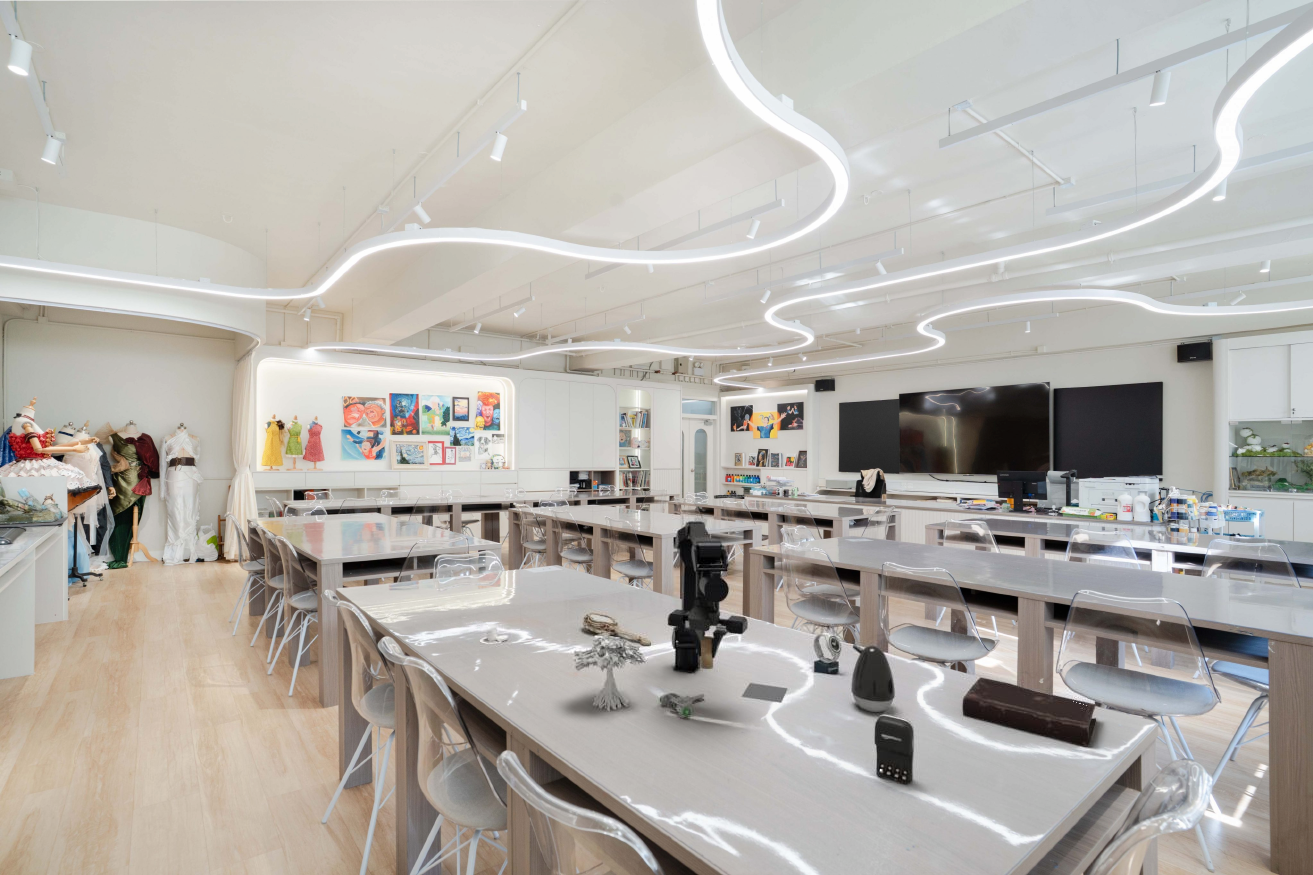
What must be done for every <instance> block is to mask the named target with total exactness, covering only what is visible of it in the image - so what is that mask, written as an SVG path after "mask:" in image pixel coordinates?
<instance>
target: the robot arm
mask: <svg viewBox="0 0 1313 875" xmlns="http://www.w3.org/2000/svg"><path fill="white" fill-rule="evenodd" d="M675 535H676V536H675V543H674V544H675V549H676V550H677V554H678V556H679V558H680V559H681V562H682V575H681V576H682V577H681V583H682V584H681V609H678V608H677V609H675V610H673V611H672V612H671V613H669V614H668V616H667V625H668V626H669V627H673V629H672V634H671V646H672V648H673V650H674V652H675V653H674V655H675V656H674V657H675V658H674V666H673V667H672V670H674V671H679V672H686V673H687V672H688V673H695V672H696V671H697V670H698V669H700V668H701V637H703V636H706V632H709V631H710V629H711V627H715V630H714V631H712V637H713V649H712V658H713V659H715V658H716V655H717V653H718V651H719V648H720V645H721V642H722V640H723V637H724V636H726V635H727V634H728V633H729V634H735V635H736V634H737V635H743V634H744V633H745V632H746V631H747V630H748V625H749V624H748V618H746V616H740V615H739V616H738V615H730V616H729V617H728V618H720V616H721V611H720V603H721V602H723V601H725V599H726V598H727V597H728V595H729V592H730V591H729V589H730V587H729V584H728V583H727V581H726V579H724V578H723V577H722V573H723V572H724V573H725V572H728V568H729V564H730V563H729V558H728V553H727V549H725V545H724V544H722V541H721V540H719V539H718V538H714V537H711V536H710V534H709V532H708V529H706V523H705V522H703V521H700V520H699V521H696V520H695V521H692V520H691V521H688V522H687V521H686V522H685V524H684V526H682V527H681V528H680V529H678V530H677V532H676V534H675Z"/></svg>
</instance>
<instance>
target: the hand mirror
mask: <svg viewBox="0 0 1313 875" xmlns="http://www.w3.org/2000/svg"><path fill="white" fill-rule="evenodd" d="M582 620H583V621H582V625H583V627H584V628H586V629H587V630H589V631H591V632H593V633H596V634H598V635H599V634H601V633H602V634H604V633H605V634H606V633H608V634H610V635H609V636H615V635H617V634H619V635H621V636H625V637H626V636H627V638H629V639H631V640H634V641H637V642H639V643H640V644H641V645H644V646H650V645H651V644H652V641H651V639H649V638H646V637H642V636H640V635H637V634H634V633H632V632H628V631H627V630H624V629H623V628H622V627H620V625H619V623H618V621H617V620H616V618H614V617H613V616H610V615H609V614H603V613H598V612H590V613H587V614H586V615H584V617H583V619H582Z"/></svg>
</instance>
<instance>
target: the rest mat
mask: <svg viewBox="0 0 1313 875" xmlns="http://www.w3.org/2000/svg"><path fill="white" fill-rule="evenodd" d="M788 689H789V688H787V687H779V686H773V685H767V684H766V685H765V684H761V683H760V684H759V683H753V682H750V683H749V684H748V685H747V687H746V688H745V690H744V691H743V693H742V695H741V697H743V698H748V699H754V700H760V701H761V700H762V701H766V702H767V701H768V702H774V703H780V704H781V703H782V702H783V700H784V698H785V696H786V694H787V691H788Z"/></svg>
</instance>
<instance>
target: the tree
mask: <svg viewBox="0 0 1313 875" xmlns="http://www.w3.org/2000/svg"><path fill="white" fill-rule="evenodd" d="M592 642H593V646H591V648H590V649H586V650H584V651H583V650H574V651H573V652H574V656H573V657H572V658H573V661H574V663H575V667H574V668H575V670H576V671H577V672H579V671H581V670H582V669H584V668H585V669H587V668H588V669H590V666H591V665H592V666H593V667H594V666H596V667H598V668H600V670H601V672H604V670H606V679H605V682H604V685H603V687H602V689H601V690H600V691H599V693H598V695H597V696H595V698H594V699H593V704H592V706H595V707H598V708H599V709H602V708H604V709H606V710H607V711H608V712H609V711H610V710H611V708H612V709H613V710H616V709H620V708H622V704H623V705H624V706H625V707H629V705H628V704H629V703H630V702H629V700H628V699H627V698H626V697H625V696H624V695H622V694H621V692H620V691H619V690H618V687H617V684H616V680H615V677H614V672H613V668H614V669H615V668H617V669H618V670H619V669H624V667H626V665H627V662H628V661H627V660H629V664H631V665H633V666H634V667H636V668H637V667H638V666H637V664H638V665H639V666H640V667H641V666H642V665H641V664H643V663H645V664H646V662H647V661H646V660H647V659H646V657H645V656H644V655H643V653H642V652H640V651H641V650H640V648H641V647H640V646H641V645H638V646H636V645H633V644H632V643H627V641H626V639H621V638H620V636H619V637H617V636H615V635H610V634H608V633H606V634H605V633H604V634H602V633H601V634H599V633H598V634H596V635H594V639H592Z"/></svg>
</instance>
